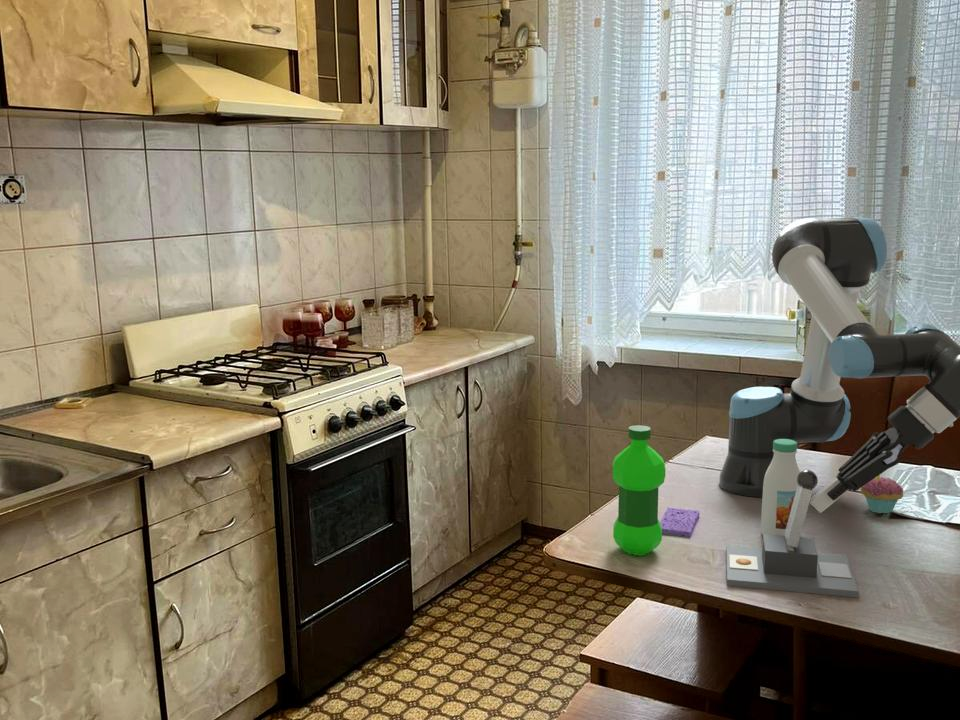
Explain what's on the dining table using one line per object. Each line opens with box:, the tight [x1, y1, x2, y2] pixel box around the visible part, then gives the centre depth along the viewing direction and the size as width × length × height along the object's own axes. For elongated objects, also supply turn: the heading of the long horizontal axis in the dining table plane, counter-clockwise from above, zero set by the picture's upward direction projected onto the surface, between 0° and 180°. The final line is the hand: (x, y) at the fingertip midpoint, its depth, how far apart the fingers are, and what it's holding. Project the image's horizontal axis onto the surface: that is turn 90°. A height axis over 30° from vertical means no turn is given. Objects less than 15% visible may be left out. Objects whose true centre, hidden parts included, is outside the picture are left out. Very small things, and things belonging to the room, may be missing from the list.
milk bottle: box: [760, 439, 801, 536], centre depth 184 cm, size 8×8×20 cm
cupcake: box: [860, 474, 904, 514], centre depth 198 cm, size 9×8×12 cm
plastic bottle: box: [612, 424, 667, 556], centre depth 177 cm, size 10×10×25 cm
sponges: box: [659, 507, 700, 538], centre depth 193 cm, size 7×13×2 cm, turn 159°
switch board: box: [725, 534, 859, 599], centre depth 168 cm, size 22×16×6 cm
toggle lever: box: [785, 469, 819, 547], centre depth 166 cm, size 4×6×14 cm, turn 166°
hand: (814, 506), depth 164 cm, fingers closed
